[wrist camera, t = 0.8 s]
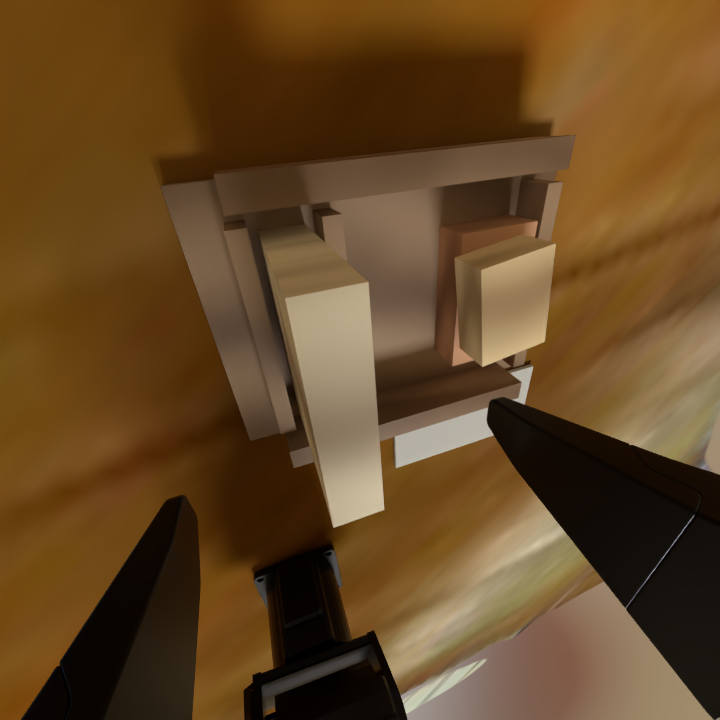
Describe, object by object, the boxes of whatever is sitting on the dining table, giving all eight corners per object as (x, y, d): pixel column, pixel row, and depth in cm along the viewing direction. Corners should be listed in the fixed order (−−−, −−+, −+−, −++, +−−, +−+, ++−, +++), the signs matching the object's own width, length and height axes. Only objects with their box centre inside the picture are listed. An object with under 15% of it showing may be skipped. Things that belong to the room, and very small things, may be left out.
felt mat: (516, 424, 28) (519, 426, 28) (394, 465, 26) (396, 468, 26) (530, 364, 25) (533, 366, 25) (392, 404, 23) (393, 406, 22)
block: (331, 390, 20) (384, 509, 13) (296, 399, 19) (333, 528, 13) (304, 224, 15) (368, 281, 8) (257, 231, 14) (284, 298, 8)
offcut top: (517, 325, 19) (544, 341, 17) (459, 348, 18) (482, 367, 17) (522, 234, 16) (556, 243, 14) (454, 257, 16) (481, 270, 14)
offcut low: (491, 334, 21) (513, 349, 20) (434, 349, 20) (452, 366, 19) (509, 214, 18) (538, 220, 16) (439, 226, 17) (462, 234, 15)
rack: (508, 362, 24) (545, 389, 22) (251, 435, 20) (255, 480, 18) (551, 134, 17) (614, 130, 14) (160, 175, 13) (142, 182, 10)
